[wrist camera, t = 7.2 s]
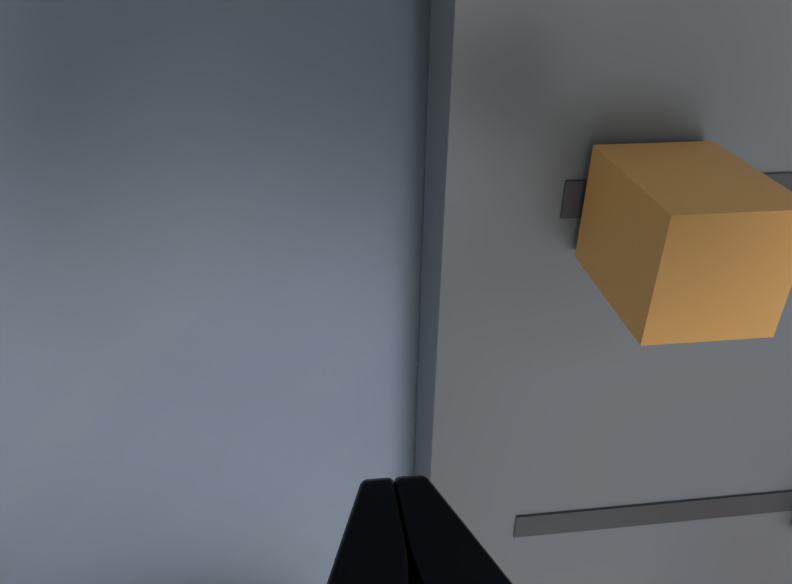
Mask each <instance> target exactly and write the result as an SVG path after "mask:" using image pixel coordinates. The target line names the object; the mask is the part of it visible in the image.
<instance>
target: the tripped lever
mask: <svg viewBox="0 0 792 584" xmlns="http://www.w3.org/2000/svg"><path fill="white" fill-rule="evenodd" d="M575 257H576V259H577V260H578V262H579V263H580V264H581V266H582V267H583V268H584V270H585V271H586V272H587V274H588V275H589V277H590V278H591V279H592V281H593V282H594V283H595V285H596V286H597V287H598V289H599V290H600V291H601V293H602V294H603V296H604V297H605V298H606V300H607V301H608V302H609V304H610V305H611V306H612V308H613V309H614V311H615V312H616V313H617V315H618V316H619V317H620V319H621V320H622V321H623V323H624V324H625V325H626V327H627V328H628V330H629V331H630V332H631V334H632V335H633V336H634V338H635V339H636V340H637V342H638V343H639V345H640V346H647V345H662V344H677V343H692V342H707V341H722V340H738V339H753V338H768V337H774V334H775V331H776V328H777V325H778V323H779V320H780V317H781V314H782V311H783V309H784V306H785V303H786V300H787V297H788V295H789V292H790V289H791V286H792V191H790V190H788V189H787V188H785V187H784V186H782V185H781V184H779V183H777V182H776V181H774V180H773V179H771V178H770V177H768V176H766V175H765V174H763V173H762V172H760V171H759V170H757V169H756V168H754V167H752V166H751V165H749V164H748V163H746V162H745V161H743V160H741V159H740V158H738V157H737V156H735V155H734V154H732V153H730V152H729V151H727V150H726V149H724V148H723V147H721V146H719V145H718V144H716V143H715V142H713V141H696V142H664V143H632V144H601V145H593V149H592V155H591V161H590V168H589V174H588V180H587V186H586V192H585V198H584V204H583V210H582V216H581V222H580V228H579V234H578V241H577V247H576V253H575Z"/></svg>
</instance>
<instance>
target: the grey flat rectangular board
mask: <svg viewBox="0 0 792 584" xmlns="http://www.w3.org/2000/svg"><path fill="white" fill-rule="evenodd" d="M696 141H713V142H715V143H716V144H718V145H719V146H721V147H723V148H724V149H726V150H727V151H729V152H730V153H732V154H734V155H735V156H737V157H738V158H740V159H741V160H743V161H745V162H746V163H748V164H749V165H751V166H752V167H754V168H756V169H757V170H759V171H760V172H762V173H763V174H765V175H766V176H768V177H770V178H771V179H773V180H774V181H776V182H777V183H779V184H781V185H782V186H784V187H785V188H787V189H788V190H790V191H792V0H431V9H430V38H429V66H428V94H427V123H426V151H425V179H424V208H423V236H422V264H421V293H420V321H419V349H418V378H417V406H416V435H415V463H414V475H423V476H426V477H427V478H428V479H429V480H430V481H431V483H432V484H433V485H434V486H435V488H436V489H437V490H438V491H439V493H440V494H441V495H442V496H443V498H444V499H445V500H446V501H447V503H448V504H449V505H450V506H451V508H452V509H453V510H454V511H455V513H456V514H457V515H458V516H459V517H460V519H461V520H462V521H463V522H464V524H465V525H466V526H467V527H468V529H469V530H470V531H471V532H472V534H473V535H474V536H475V537H476V539H477V540H478V541H479V542H480V544H481V545H482V546H483V547H484V549H485V550H486V551H487V552H488V554H489V555H490V556H491V557H492V559H493V560H494V561H495V562H496V564H497V565H498V566H499V567H500V569H501V570H502V571H503V572H504V574H505V575H506V576H507V577H508V579H509V580H510V581H511V582H512V584H792V286H791V289H790V292H789V295H788V297H787V300H786V303H785V306H784V309H783V311H782V314H781V317H780V320H779V323H778V325H777V328H776V331H775V334H774V337H768V338H753V339H738V340H722V341H707V342H692V343H677V344H662V345H647V346H640V345H639V343H638V342H637V340H636V339H635V338H634V336H633V335H632V334H631V332H630V331H629V330H628V328H627V327H626V325H625V324H624V323H623V321H622V320H621V319H620V317H619V316H618V315H617V313H616V312H615V311H614V309H613V308H612V306H611V305H610V304H609V302H608V301H607V300H606V298H605V297H604V296H603V294H602V293H601V291H600V290H599V289H598V287H597V286H596V285H595V283H594V282H593V281H592V279H591V278H590V277H589V275H588V274H587V272H586V271H585V270H584V268H583V267H582V266H581V264H580V263H579V262H578V260H577V259H576V257H575V253H576V247H577V241H578V234H579V228H580V222H581V216H582V210H583V204H584V198H585V192H586V186H587V180H588V174H589V168H590V161H591V155H592V149H593V145H601V144H632V143H664V142H696Z"/></svg>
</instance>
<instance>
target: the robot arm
mask: <svg viewBox="0 0 792 584" xmlns="http://www.w3.org/2000/svg"><path fill="white" fill-rule="evenodd" d="M327 584H512V582H511V581H510V580H509V579H508V577H507V576H506V575H505V574H504V572H503V571H502V570H501V569H500V567H499V566H498V565H497V564H496V562H495V561H494V560H493V559H492V557H491V556H490V555H489V554H488V552H487V551H486V550H485V549H484V547H483V546H482V545H481V544H480V542H479V541H478V540H477V539H476V537H475V536H474V535H473V534H472V532H471V531H470V530H469V529H468V527H467V526H466V525H465V524H464V522H463V521H462V520H461V519H460V517H459V516H458V515H457V514H456V513H455V511H454V510H453V509H452V508H451V506H450V505H449V504H448V503H447V501H446V500H445V499H444V498H443V496H442V495H441V494H440V493H439V491H438V490H437V489H436V488H435V486H434V485H433V484H432V483H431V481H430V480H429V479H428V478H427V477H426V476H423V475H414V476H402V477H397V478H396V479H395V481H394V482H393V480H392V479H391V478H379V479H367V480H364V481H362V483H361V484H360V487H359V490H358V493H357V496H356V499H355V502H354V505H353V508H352V510H351V513H350V516H349V519H348V522H347V525H346V528H345V531H344V534H343V537H342V540H341V543H340V546H339V549H338V552H337V555H336V558H335V561H334V564H333V567H332V570H331V573H330V576H329V579H328V582H327Z"/></svg>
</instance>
